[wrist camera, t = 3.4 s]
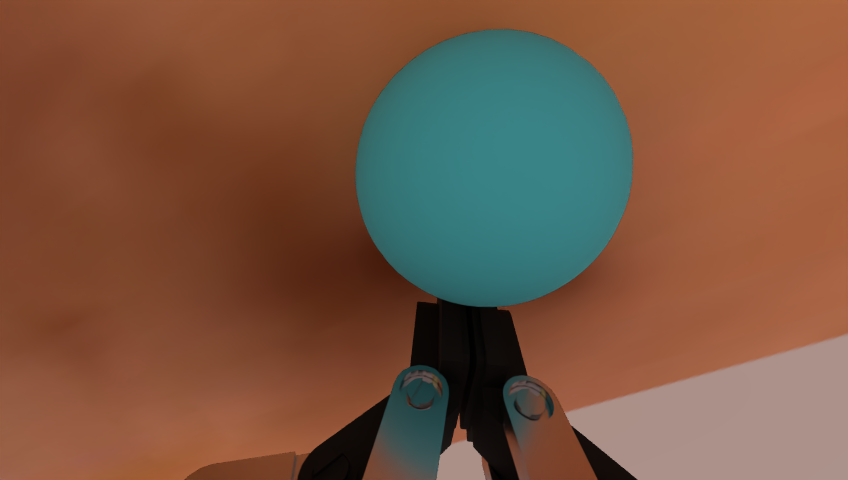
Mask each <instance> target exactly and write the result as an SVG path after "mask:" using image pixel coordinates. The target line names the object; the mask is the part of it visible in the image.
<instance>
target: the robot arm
mask: <svg viewBox="0 0 848 480" xmlns="http://www.w3.org/2000/svg"><path fill="white" fill-rule="evenodd" d="M459 413H460V428H461V429H466V431H467V441H469V442H473V447H474V448H475V449H476V450H477V451H478V453H480V455H481V456H482V466H483V470H484V475H485V479H486V480H637V479H636V478H635V477H634V476H632V475H631V474H630V473H629V472H628V471H626V470H625V469H624V468H623V467H621V466H620V465H619V464H618V463H617V462H615V461H614V460H613V459H612V458H610V457H609V456H608V455H607V454H605V453H604V452H603V451H602V450H601V449H599V448H598V447H597V446H596V445H595V444H593V443H592V442H591V441H589V440H588V439H587V438H586V437H585V436H584V435H582V434H581V433H580V432H579V431H577V430H576V429H575V428H573V426H571V425H570V423H569V421H568V419H567V417H566V415H565V413H564V411H563V409H562V407H561V405H560V403H559V401H558V399H557V397H556V396H555V394H554V393H553V391H552V390H551V389H550V388H549V387H548V386H547V385H546V384H544V383H543V382H541V381H540V380H538V379H536V378H533V377H530V376H527V372H526V368H525V365H524V361H523V357H522V354H521V350H520V346H519V342H518V339H517V335H516V331H515V328H514V324H513V320H512V317H511V314H510V312H509V311H508V310H497V307H476V306H468V305H461V304H457V303H453V302H449V301H446V300H443V299H440V298H437V304H436V303H426V302H417V310H416V319H415V328H414V337H413V346H412V355H411V364H410V367H409V368H407V369H405V370H403V371H402V372H401V373H400V374H399V375H398V377H397V378H396V380H395V382H394V385H393V388H392V391H391V394H390V395H389V396H387V397H386V398H384V399H383V400H382V401H380V402H379V403H377V404H376V405H375V406H373V407H372V408H371V409H369V410H368V411H366V412H365V413H364V414H362V415H361V416H359V417H358V418H357V419H355V420H354V421H352V422H351V423H350V424H348V425H347V426H345V427H344V428H343V429H341V430H340V431H338V432H337V433H336V434H334V435H333V436H332V437H330V438H329V439H327V440H326V441H325V442H323V443H322V444H320V445H319V446H318V447H316V448H315V449H314V450H313V451H312V452H311V453H307V454H301V455H296V453H295V452H289V453H282V454H275V455H269V456H262V457H256V458H249V459H243V460H236V461H229V462H223V463H216V464H211V465H208V466H205V467H202V468H200V469H198V470H197V471H195V472H194V473H192V474H191V475H189V476H188V477H187V478H186V479H185V480H436V478H437V471H438V465H439V458H440V455H441V454H442V453H443V452H444V451H445V450H446V449H447V448H448V447H449V446H450V445H451V442H452V437H453V433H454V428H456V424H457V420H458V416H459Z"/></svg>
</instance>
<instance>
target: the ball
mask: <svg viewBox="0 0 848 480" xmlns="http://www.w3.org/2000/svg"><path fill="white" fill-rule="evenodd" d="M632 173H633V150H632V141H631V134H630V131H629V127H628V124H627V120H626V117H625V115H624V113H623V110H622V108H621V106H620V104H619V102H618V100H617V97H616V95H615V93H614V92H613V90H612V89H611V87H610V86H609V84H608V83H607V82H606V80H605V79H604V77H603V76H602V75H601V74H600V73H599V72H598V71H597V70H596V69H595V68H594V67H593V66H592V65H591V64H590V63H589V62H588V61H586V60H585V59H584V58H582V57H581V56H579V55H578V54H577V53H575V52H574V51H573V50H571V49H570V48H568V47H567V46H565V45H563V44H561V43H559V42H557V41H555V40H553V39H551V38H548V37H544V36H541V35H538V34H535V33H531V32H526V31H518V30H511V29H495V30H483V31H477V32H471V33H466V34H462V35H459V36H456V37H453V38H450V39H447V40H445V41H443V42H441V43H439V44H437V45H435V46H433V47H431V48H429V49H427V50H425V51H424V52H423V53H421V54H420V55H418V56H417V57H415V58H414V59H413V60H411V61H410V62H409V63H408V64H407V65H405V66H404V67H403V68H402V69H401V70H400V71H399V72H398V73H397V74H396V75H395V76H394V77H393V78H392V79H391V80H390V82H389V83H388V84H387V85H386V87H385V88H384V89H383V90H382V92H381V93H380V95H379V96H378V98H377V100H376V101H375V103H374V105H373V106H372V108H371V110H370V112H369V115H368V117H367V119H366V121H365V124H364V126H363V130H362V133H361V137H360V140H359V145H358V151H357V158H356V166H355V183H356V191H357V199H358V202H359V206H360V210H361V214H362V218H363V221H364V223H365V226H366V228H367V230H368V233H369V235H370V236H371V238H372V240H373V242H374V243H375V245H376V247H377V248H378V250H379V251H380V252H381V254H382V255H383V256H384V258H385V259H386V260H387V262H388V263H389V264H390V265H391V266H392V267H393V268H394V269H395V270H396V271H397V272H398V273H399V274H400V275H402V276H403V277H404V278H405V279H407V280H408V281H409V282H411V283H412V284H414V285H415V286H417V287H419V288H420V289H422V290H423V291H425V292H427V293H429V294H431V295H433V296H435V297H438V298H440V299H443V300H446V301H449V302H453V303H457V304H461V305H468V306H476V307H500V306H509V305H515V304H520V303H524V302H527V301H531V300H534V299H537V298H539V297H542V296H544V295H547V294H549V293H551V292H553V291H555V290H557V289H558V288H560V287H562V286H563V285H565V284H566V283H568V282H569V281H571V280H573V279H574V278H575V277H576V276H578V275H579V274H580V273H581V272H583V271H584V270H585V269H586V268H587V267H588V266H589V265H590V264H591V263H592V262H593V261H594V260H595V259H596V258H597V257H598V256H599V254H600V253H601V252H602V251H603V249H604V248H605V247H606V245H607V244H608V242H609V241H610V239H611V238H612V236H613V234H614V233H615V230H616V228H617V226H618V224H619V222H620V220H621V218H622V216H623V214H624V211H625V208H626V205H627V202H628V199H629V195H630V189H631V184H632Z"/></svg>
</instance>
